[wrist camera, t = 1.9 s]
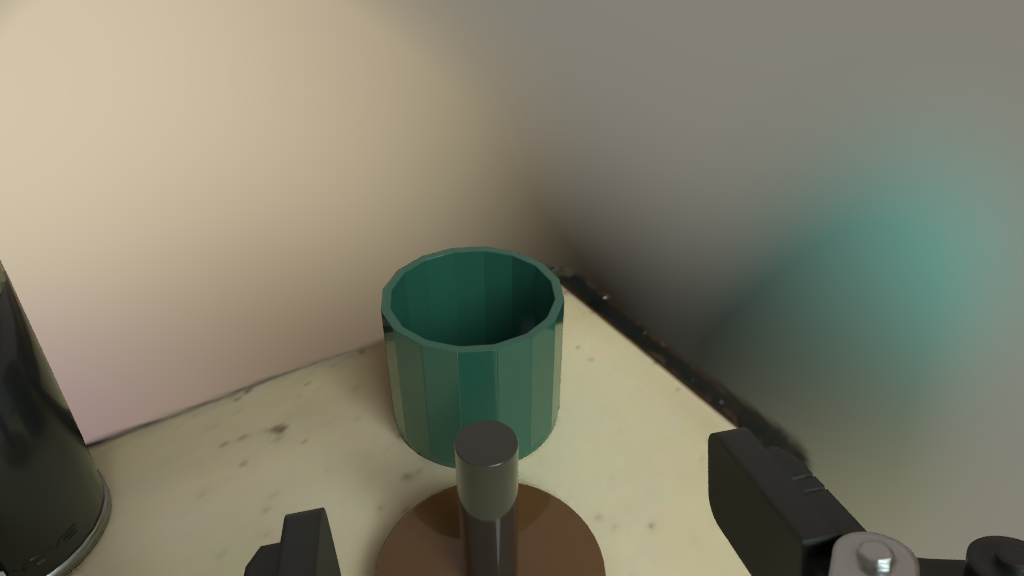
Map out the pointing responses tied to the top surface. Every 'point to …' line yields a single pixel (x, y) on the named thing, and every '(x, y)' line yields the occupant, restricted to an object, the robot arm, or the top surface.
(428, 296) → the canister
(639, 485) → the top surface
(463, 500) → the lid
